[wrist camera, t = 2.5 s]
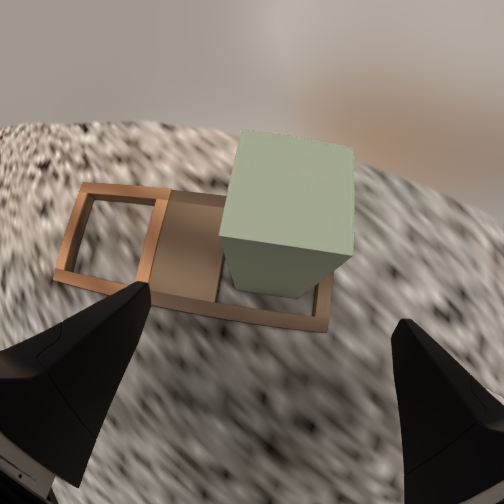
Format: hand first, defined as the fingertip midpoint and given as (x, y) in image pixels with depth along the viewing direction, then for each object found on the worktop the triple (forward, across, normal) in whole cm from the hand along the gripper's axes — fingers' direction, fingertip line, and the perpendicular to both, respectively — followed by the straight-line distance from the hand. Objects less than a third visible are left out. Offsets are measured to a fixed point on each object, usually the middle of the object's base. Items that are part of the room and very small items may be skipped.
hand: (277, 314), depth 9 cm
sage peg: (+11, 0, +5) cm, 12 cm away
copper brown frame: (+11, +6, +5) cm, 14 cm away
